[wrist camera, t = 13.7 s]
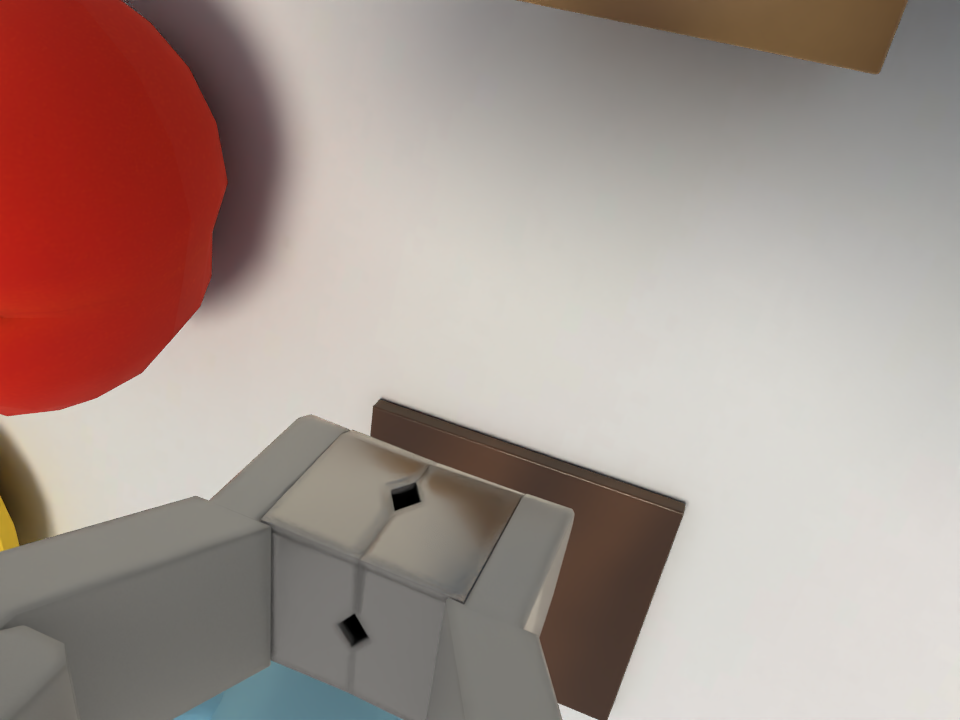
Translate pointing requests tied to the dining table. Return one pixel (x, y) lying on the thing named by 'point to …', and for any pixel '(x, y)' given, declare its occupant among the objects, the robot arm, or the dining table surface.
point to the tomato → (97, 199)
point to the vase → (7, 530)
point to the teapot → (284, 700)
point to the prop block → (767, 25)
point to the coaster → (567, 549)
